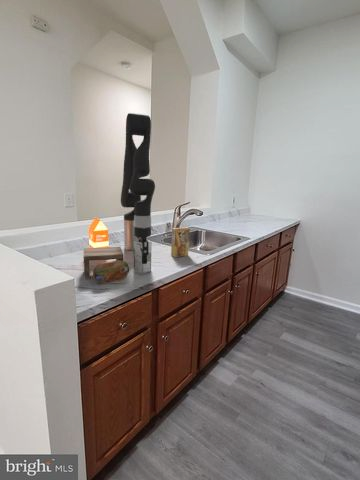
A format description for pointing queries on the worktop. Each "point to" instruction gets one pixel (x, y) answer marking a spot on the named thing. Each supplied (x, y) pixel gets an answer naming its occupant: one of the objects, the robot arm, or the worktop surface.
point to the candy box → (180, 242)
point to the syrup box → (138, 258)
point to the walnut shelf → (100, 256)
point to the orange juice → (98, 234)
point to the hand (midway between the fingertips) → (142, 260)
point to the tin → (110, 271)
